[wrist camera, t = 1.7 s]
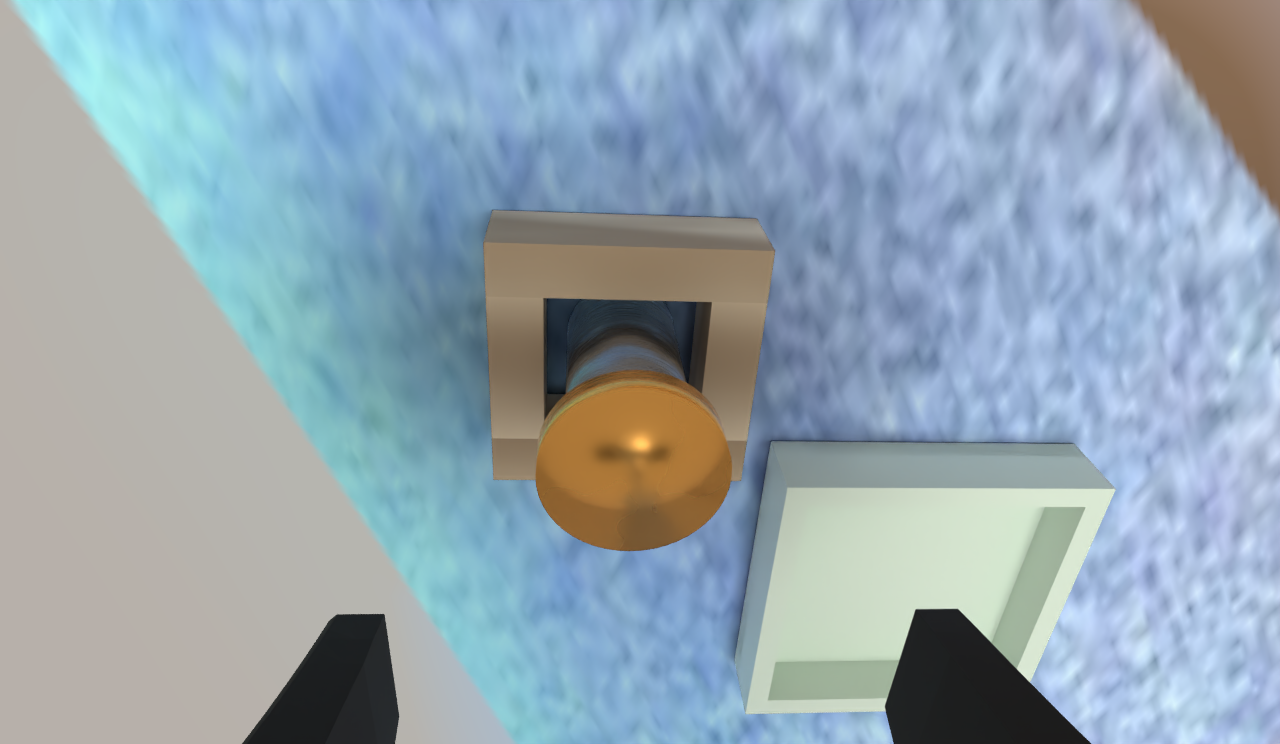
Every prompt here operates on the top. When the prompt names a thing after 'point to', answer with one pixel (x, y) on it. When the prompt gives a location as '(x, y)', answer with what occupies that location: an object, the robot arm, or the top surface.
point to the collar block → (620, 270)
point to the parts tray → (905, 560)
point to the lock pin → (630, 434)
